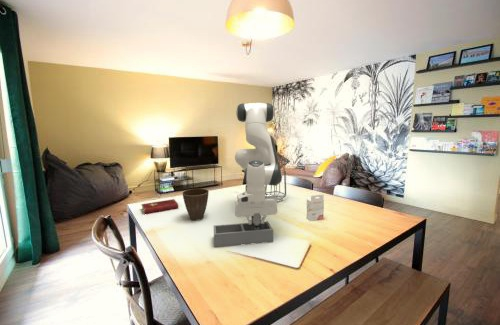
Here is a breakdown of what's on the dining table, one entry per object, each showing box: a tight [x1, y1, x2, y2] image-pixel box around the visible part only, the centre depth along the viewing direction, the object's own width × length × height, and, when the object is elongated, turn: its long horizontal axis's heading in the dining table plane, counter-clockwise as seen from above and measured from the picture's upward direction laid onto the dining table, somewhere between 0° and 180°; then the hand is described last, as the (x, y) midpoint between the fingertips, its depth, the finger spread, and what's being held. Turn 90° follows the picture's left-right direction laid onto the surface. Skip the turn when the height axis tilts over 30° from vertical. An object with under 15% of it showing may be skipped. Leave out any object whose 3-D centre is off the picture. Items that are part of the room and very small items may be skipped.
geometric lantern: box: [265, 152, 291, 203], centre depth 170 cm, size 16×16×35 cm
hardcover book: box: [140, 198, 179, 215], centre depth 155 cm, size 12×21×4 cm, turn 121°
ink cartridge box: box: [306, 194, 325, 222], centre depth 135 cm, size 9×5×15 cm, turn 105°
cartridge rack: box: [213, 220, 274, 248], centre depth 111 cm, size 10×27×6 cm, turn 100°
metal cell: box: [251, 213, 262, 230], centre depth 111 cm, size 4×4×11 cm
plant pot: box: [182, 188, 210, 221], centre depth 137 cm, size 15×15×16 cm
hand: (256, 223), depth 111 cm, fingers closed on metal cell, 4 cm apart
